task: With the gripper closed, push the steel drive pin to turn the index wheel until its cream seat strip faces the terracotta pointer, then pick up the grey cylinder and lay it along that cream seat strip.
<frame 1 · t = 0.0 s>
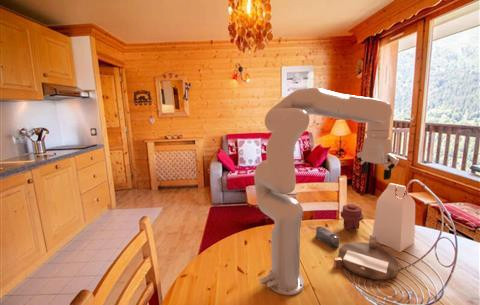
hand: (375, 176, 99), 31 cm above the table, tool pointing down, fingers open, 9 cm apart
mechanical component: (351, 229, 119), on the table
wheel stand: (366, 263, 93), on the table
milk: (392, 241, 108), on the table
index wheel: (367, 253, 92), point 4 cm above the table, hinge at 0.0°
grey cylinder: (327, 241, 110), on the table
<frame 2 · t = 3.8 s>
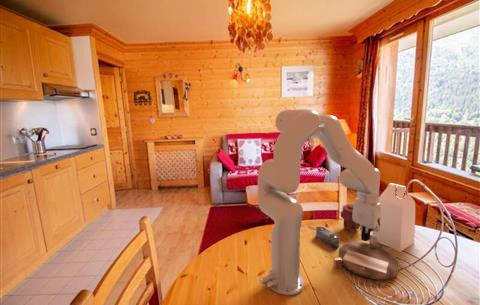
hand: (365, 239, 101), 5 cm above the table, tool pointing down, fingers closed
index wheel: (367, 253, 92), point 4 cm above the table, hinge at -0.6°, touching gripper
everything else where it was.
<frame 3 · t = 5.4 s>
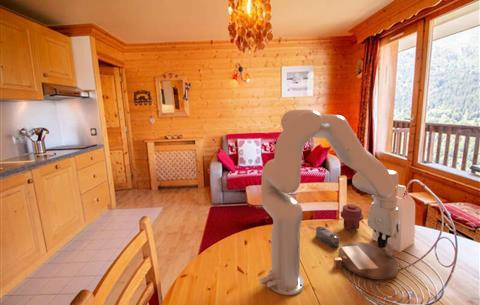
hand: (381, 246, 95), 5 cm above the table, tool pointing down, fingers closed
index wheel: (367, 253, 92), point 4 cm above the table, hinge at -50.4°, touching gripper
everything else where it was.
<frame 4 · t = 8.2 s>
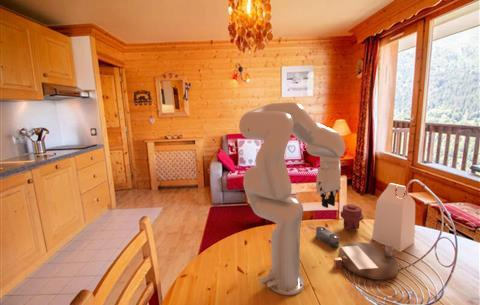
hand: (328, 205, 106), 17 cm above the table, tool pointing down, fingers open, 3 cm apart
index wheel: (367, 253, 92), point 4 cm above the table, hinge at -50.4°
everything else where it was.
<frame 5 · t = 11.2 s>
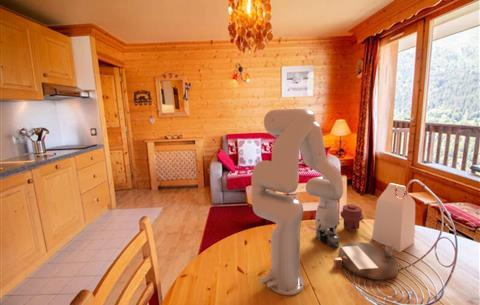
hand: (327, 240, 109), 0 cm above the table, tool pointing down, fingers closed on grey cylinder, 4 cm apart
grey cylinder: (327, 241, 110), on the table, touching gripper
everything else where it was.
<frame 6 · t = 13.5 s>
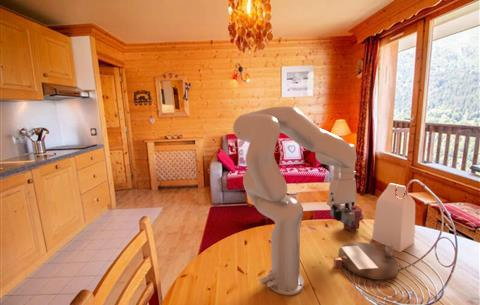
hand: (341, 218, 99), 15 cm above the table, tool pointing down, fingers closed on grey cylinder, 4 cm apart
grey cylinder: (341, 218, 99), point 15 cm above the table, touching gripper
everything else where it was.
when the fingers open (5 cm above the table, at t = 16.3 s): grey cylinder drops 1 cm, resting on index wheel.
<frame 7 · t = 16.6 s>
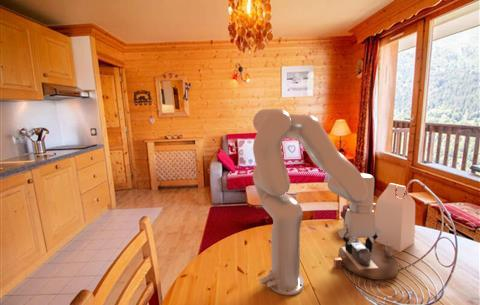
hand: (358, 251, 92), 6 cm above the table, tool pointing down, fingers open, 7 cm apart
index wheel: (367, 253, 92), point 4 cm above the table, hinge at -50.4°, touching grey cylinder
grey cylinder: (358, 256, 92), point 3 cm above the table, touching index wheel
everything else where it was.
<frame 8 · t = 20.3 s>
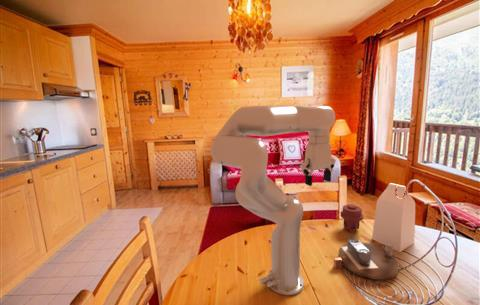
hand: (318, 182, 96), 30 cm above the table, tool pointing down, fingers open, 9 cm apart
nothing on the table moved.
at the end: index wheel at -50° (first picture: +0°); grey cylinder inside the target area (0.1 cm from its centre), point 3.4 cm above the table; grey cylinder touching index wheel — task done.
